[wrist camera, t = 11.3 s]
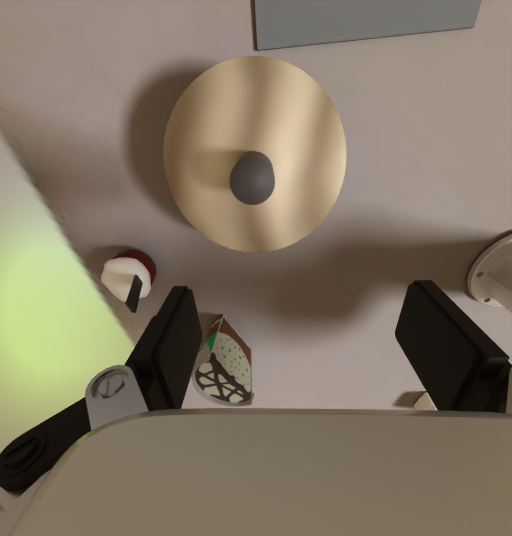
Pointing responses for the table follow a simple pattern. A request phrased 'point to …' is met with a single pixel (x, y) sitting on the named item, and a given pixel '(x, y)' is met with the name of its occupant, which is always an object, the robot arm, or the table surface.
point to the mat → (355, 20)
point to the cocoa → (129, 277)
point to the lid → (254, 154)
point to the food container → (224, 367)
